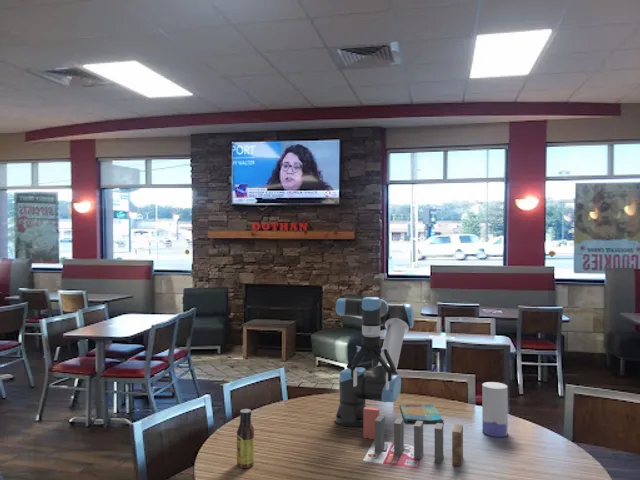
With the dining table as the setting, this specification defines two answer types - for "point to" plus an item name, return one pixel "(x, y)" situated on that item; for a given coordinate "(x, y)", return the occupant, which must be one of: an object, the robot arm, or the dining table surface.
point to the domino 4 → (438, 442)
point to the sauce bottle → (245, 440)
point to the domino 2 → (398, 436)
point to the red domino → (369, 422)
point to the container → (495, 409)
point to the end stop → (457, 445)
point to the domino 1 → (379, 434)
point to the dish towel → (420, 413)
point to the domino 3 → (418, 439)
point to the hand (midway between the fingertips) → (371, 387)
